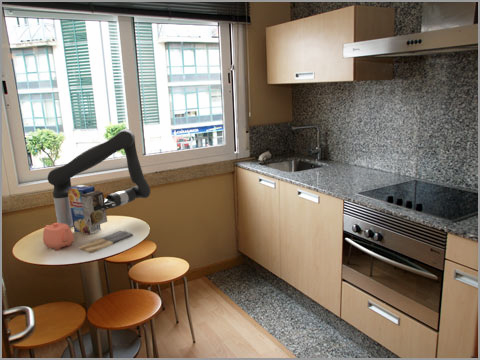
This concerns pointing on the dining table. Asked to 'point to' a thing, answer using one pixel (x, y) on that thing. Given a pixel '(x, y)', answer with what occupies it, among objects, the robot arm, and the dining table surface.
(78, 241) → the dining table surface
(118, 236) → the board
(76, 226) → the juice carton
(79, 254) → the dining table surface
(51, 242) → the teapot
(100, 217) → the coffee box
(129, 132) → the robot arm
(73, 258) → the dining table surface
